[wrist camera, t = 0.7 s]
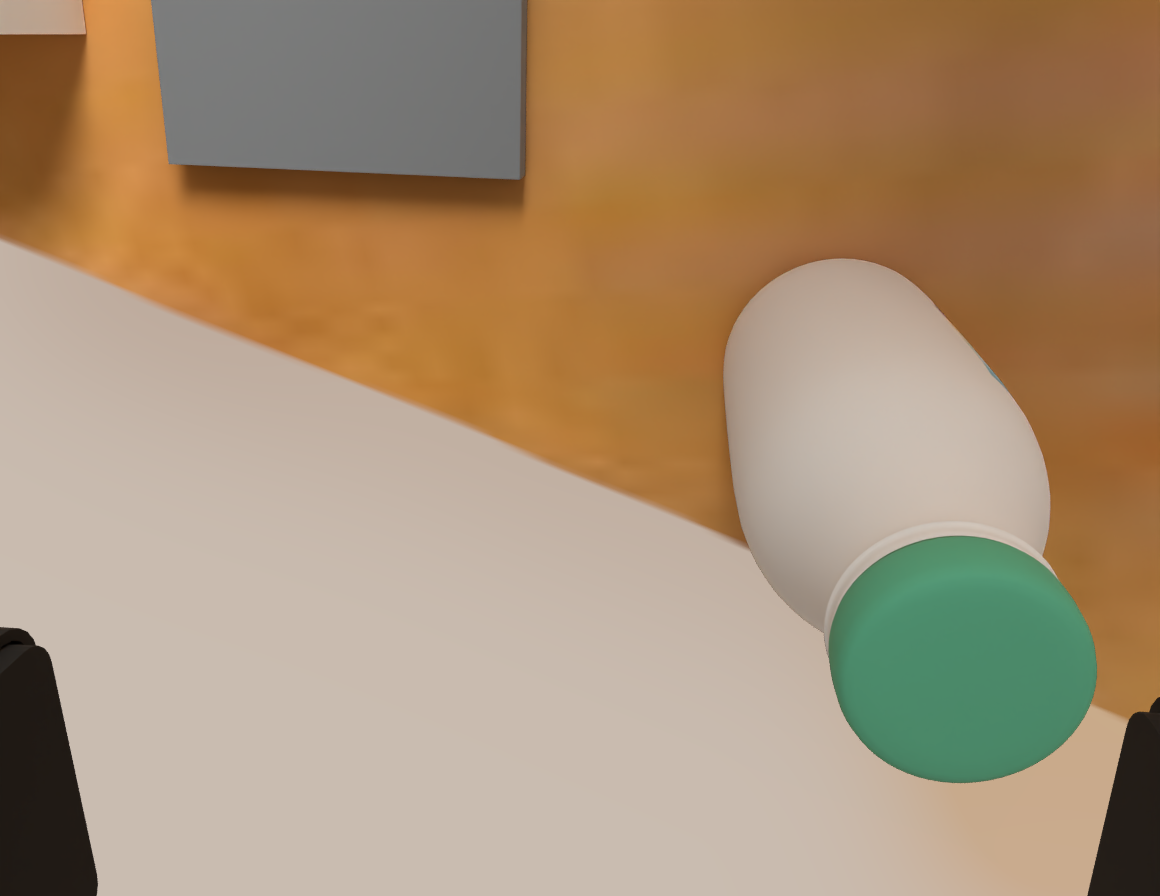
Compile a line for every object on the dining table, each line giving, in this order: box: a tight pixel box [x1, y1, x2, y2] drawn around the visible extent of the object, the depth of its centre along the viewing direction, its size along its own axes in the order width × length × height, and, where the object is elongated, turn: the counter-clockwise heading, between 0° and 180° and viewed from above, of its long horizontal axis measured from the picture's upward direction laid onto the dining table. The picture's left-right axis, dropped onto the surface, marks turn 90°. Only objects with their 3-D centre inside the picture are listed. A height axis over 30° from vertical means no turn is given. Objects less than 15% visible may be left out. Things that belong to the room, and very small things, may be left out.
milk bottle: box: [723, 258, 1097, 783], centre depth 28 cm, size 8×8×20 cm
